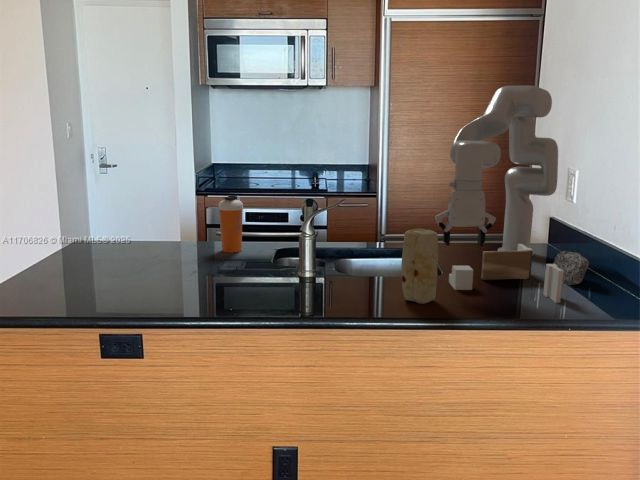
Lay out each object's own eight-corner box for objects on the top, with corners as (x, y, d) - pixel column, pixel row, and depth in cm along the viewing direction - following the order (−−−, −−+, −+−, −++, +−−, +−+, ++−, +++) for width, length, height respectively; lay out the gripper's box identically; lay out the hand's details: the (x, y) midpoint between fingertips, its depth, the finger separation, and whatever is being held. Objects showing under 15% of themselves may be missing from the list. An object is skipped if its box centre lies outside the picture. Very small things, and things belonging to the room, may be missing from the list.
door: (479, 278, 182) (481, 250, 180) (527, 277, 184) (529, 249, 182) (482, 280, 179) (484, 252, 177) (530, 279, 181) (533, 251, 179)
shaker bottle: (216, 252, 212) (214, 198, 207) (224, 247, 220) (222, 194, 216) (240, 254, 210) (238, 198, 206) (247, 248, 219) (246, 195, 214)
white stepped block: (472, 290, 170) (473, 270, 169) (454, 289, 170) (456, 270, 169) (465, 282, 178) (466, 263, 177) (448, 281, 178) (449, 262, 177)
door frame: (553, 302, 159) (556, 270, 157) (513, 270, 191) (516, 243, 189) (562, 302, 159) (565, 271, 157) (521, 270, 191) (523, 243, 189)
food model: (433, 297, 163) (437, 227, 159) (438, 305, 157) (442, 232, 152) (398, 297, 163) (401, 226, 159) (402, 304, 157) (405, 231, 152)
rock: (591, 288, 172) (593, 254, 171) (561, 286, 173) (564, 252, 172) (574, 282, 187) (577, 251, 187) (547, 280, 188) (550, 249, 188)
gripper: (440, 187, 162) (436, 247, 166) (502, 188, 162) (497, 248, 166) (434, 184, 170) (431, 242, 173) (494, 185, 170) (489, 242, 173)
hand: (463, 245), depth 170 cm, fingers open, 9 cm apart
